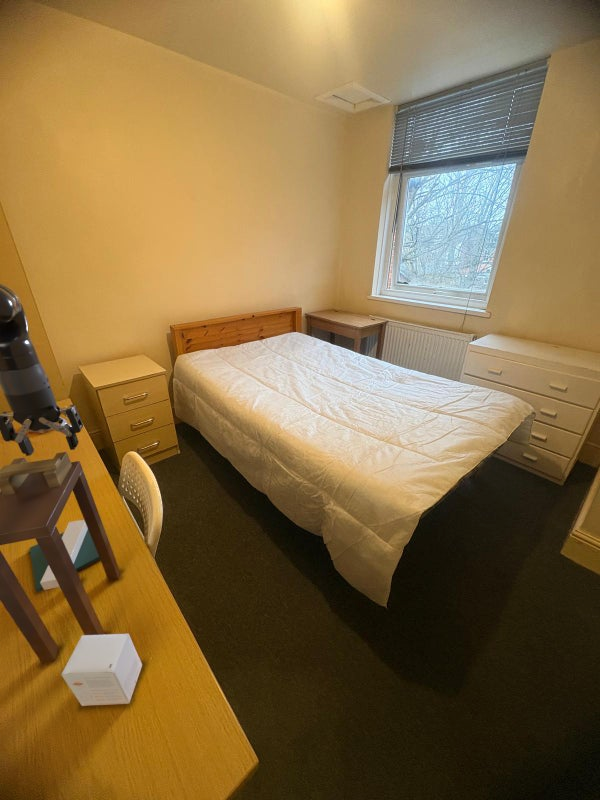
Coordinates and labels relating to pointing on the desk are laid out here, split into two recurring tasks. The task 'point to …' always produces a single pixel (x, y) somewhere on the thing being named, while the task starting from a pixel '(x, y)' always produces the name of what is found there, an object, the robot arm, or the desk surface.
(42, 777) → the desk surface
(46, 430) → the rock
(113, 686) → the small box
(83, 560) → the board
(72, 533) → the stone bar
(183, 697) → the desk surface
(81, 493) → the stand
